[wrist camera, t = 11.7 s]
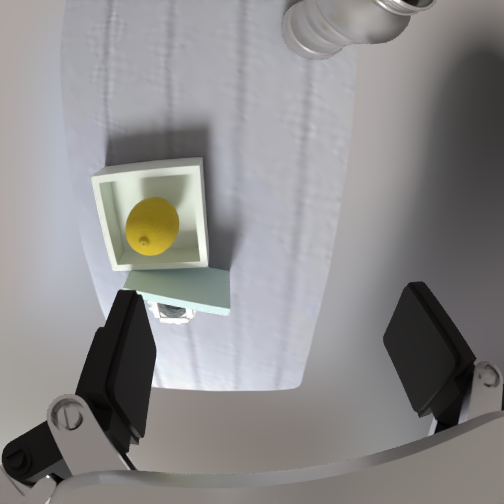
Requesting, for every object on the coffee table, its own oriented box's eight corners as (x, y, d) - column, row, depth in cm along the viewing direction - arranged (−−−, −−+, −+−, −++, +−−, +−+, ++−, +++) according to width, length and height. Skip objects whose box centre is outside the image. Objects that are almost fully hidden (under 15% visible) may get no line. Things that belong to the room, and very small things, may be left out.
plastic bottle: (286, 66, 27) (370, 38, 9) (270, 11, 23) (327, -79, 6) (342, 58, 26) (470, 43, 9) (327, 4, 23) (435, -61, 6)
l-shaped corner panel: (134, 318, 42) (123, 355, 36) (139, 252, 37) (123, 287, 30) (211, 333, 45) (210, 372, 38) (229, 270, 39) (230, 309, 33)
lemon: (153, 239, 35) (137, 277, 28) (129, 201, 32) (104, 233, 25) (192, 219, 34) (183, 255, 27) (168, 178, 31) (151, 205, 24)
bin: (104, 166, 30) (91, 176, 27) (202, 156, 31) (199, 165, 28) (122, 253, 36) (112, 270, 33) (209, 249, 37) (208, 267, 34)
